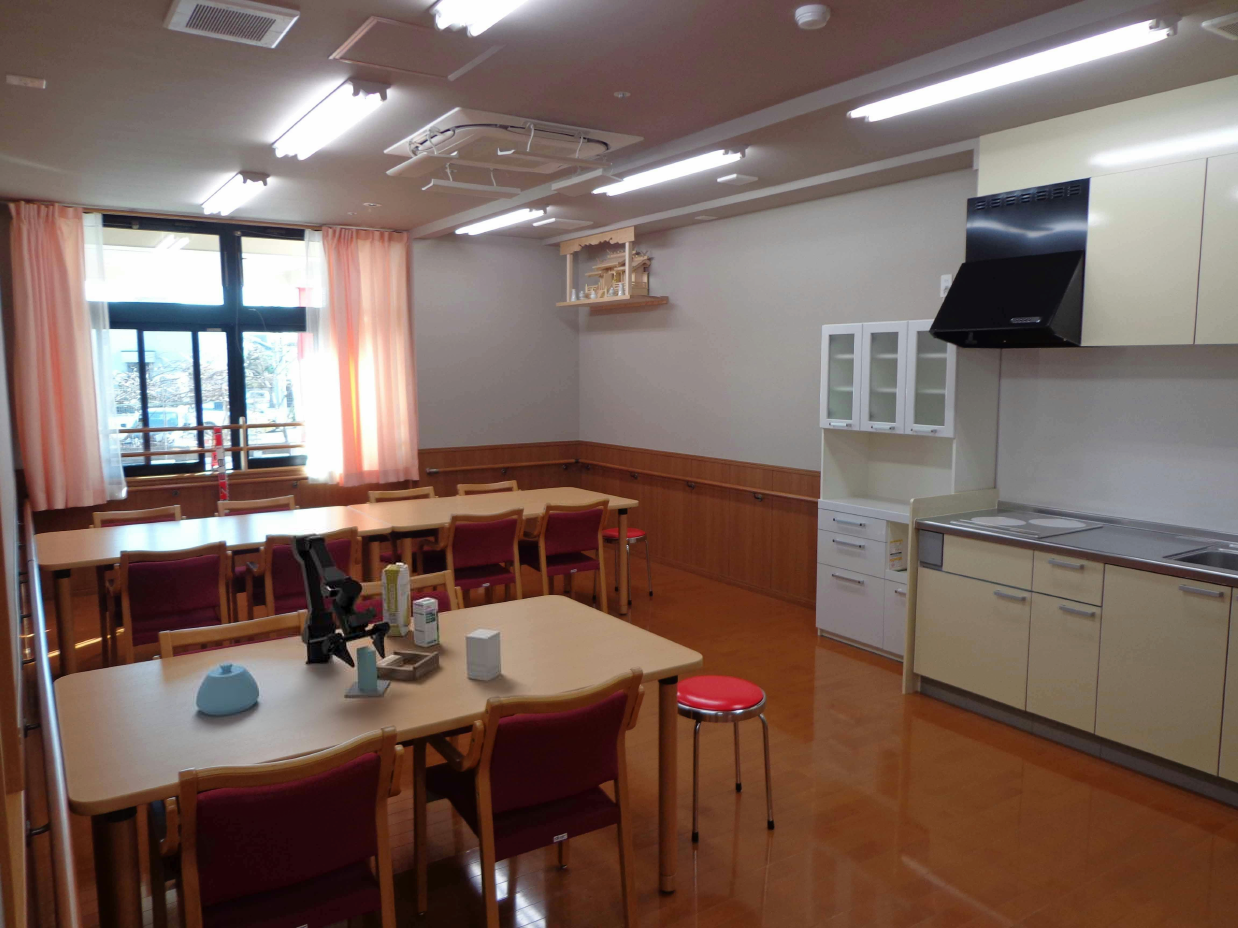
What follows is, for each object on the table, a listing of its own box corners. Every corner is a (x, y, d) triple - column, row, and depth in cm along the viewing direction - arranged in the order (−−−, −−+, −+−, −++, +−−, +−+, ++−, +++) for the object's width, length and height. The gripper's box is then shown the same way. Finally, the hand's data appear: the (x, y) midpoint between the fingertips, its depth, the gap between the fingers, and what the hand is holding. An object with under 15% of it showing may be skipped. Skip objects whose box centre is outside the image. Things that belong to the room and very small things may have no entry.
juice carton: (405, 637, 273) (403, 566, 271) (382, 637, 273) (379, 566, 271) (413, 628, 283) (410, 560, 280) (390, 628, 283) (387, 560, 280)
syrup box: (425, 647, 263) (424, 603, 261) (413, 644, 266) (412, 600, 265) (439, 642, 267) (438, 599, 265) (427, 639, 271) (426, 596, 269)
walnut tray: (365, 675, 238) (365, 661, 238) (392, 659, 252) (391, 646, 252) (415, 680, 234) (415, 667, 233) (440, 664, 247) (439, 651, 247)
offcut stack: (373, 674, 240) (372, 664, 240) (391, 662, 250) (391, 653, 249) (386, 675, 239) (386, 665, 239) (404, 664, 248) (404, 654, 248)
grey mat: (344, 697, 222) (344, 695, 222) (354, 683, 232) (354, 681, 232) (381, 696, 223) (381, 694, 223) (390, 682, 233) (390, 680, 233)
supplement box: (502, 673, 240) (501, 631, 238) (487, 681, 233) (486, 638, 232) (480, 669, 243) (479, 627, 241) (466, 677, 236) (464, 635, 235)
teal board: (358, 686, 228) (356, 648, 227) (367, 683, 230) (366, 645, 229) (367, 691, 225) (365, 652, 223) (377, 688, 227) (375, 649, 226)
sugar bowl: (218, 722, 207) (216, 678, 205) (184, 710, 215) (182, 667, 213) (271, 702, 219) (269, 660, 218) (237, 691, 227) (235, 650, 226)
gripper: (325, 606, 221) (347, 655, 214) (386, 592, 234) (409, 638, 228) (312, 629, 227) (334, 677, 220) (372, 614, 240) (394, 659, 234)
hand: (369, 662), depth 226 cm, fingers open, 9 cm apart
